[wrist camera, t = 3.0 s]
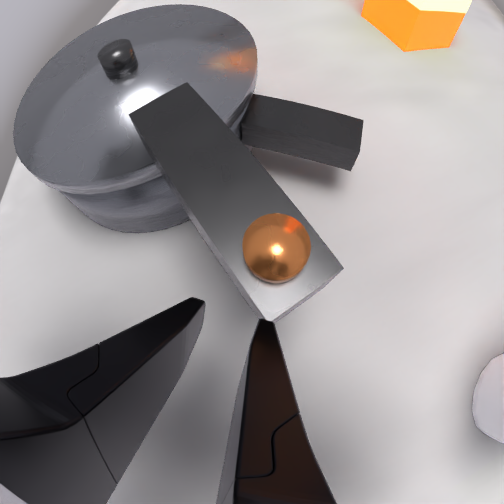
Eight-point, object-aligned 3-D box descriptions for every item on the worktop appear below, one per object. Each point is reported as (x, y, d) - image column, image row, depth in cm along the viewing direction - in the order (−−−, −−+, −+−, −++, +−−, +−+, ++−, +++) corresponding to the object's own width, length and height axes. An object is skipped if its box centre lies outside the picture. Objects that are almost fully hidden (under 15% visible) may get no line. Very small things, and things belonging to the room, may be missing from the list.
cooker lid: (132, 413, 11) (77, 438, 7) (14, 94, 17) (-13, 58, 13) (421, 210, 14) (471, 161, 9) (184, -2, 19) (176, -45, 15)
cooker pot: (319, 286, 19) (345, 259, 13) (18, 201, 21) (-25, 168, 16) (352, 106, 23) (370, 51, 17) (97, 71, 25) (76, 28, 20)
